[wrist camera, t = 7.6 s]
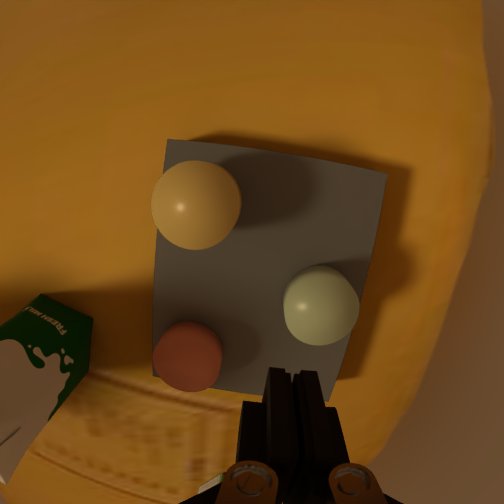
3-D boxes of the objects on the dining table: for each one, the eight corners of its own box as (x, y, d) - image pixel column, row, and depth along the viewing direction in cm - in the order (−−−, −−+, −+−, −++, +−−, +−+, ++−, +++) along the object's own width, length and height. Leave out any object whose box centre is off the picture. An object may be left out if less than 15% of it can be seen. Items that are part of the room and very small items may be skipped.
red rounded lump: (170, 303, 27) (152, 329, 22) (230, 313, 27) (222, 342, 22) (168, 353, 28) (152, 384, 23) (223, 363, 28) (216, 397, 23)
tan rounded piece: (178, 159, 22) (156, 156, 18) (249, 167, 22) (244, 166, 17) (171, 228, 24) (147, 242, 19) (239, 238, 24) (232, 256, 19)
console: (178, 142, 24) (167, 139, 21) (374, 173, 24) (387, 173, 21) (161, 358, 29) (152, 375, 26) (323, 382, 29) (328, 401, 26)
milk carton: (35, 347, 30) (-69, 446, 11) (36, 281, 28) (-104, 370, 9) (95, 379, 31) (4, 509, 11) (102, 313, 28) (-31, 449, 9)
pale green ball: (287, 251, 25) (292, 270, 20) (350, 261, 25) (367, 281, 20) (276, 311, 27) (278, 341, 22) (335, 319, 27) (348, 348, 22)
